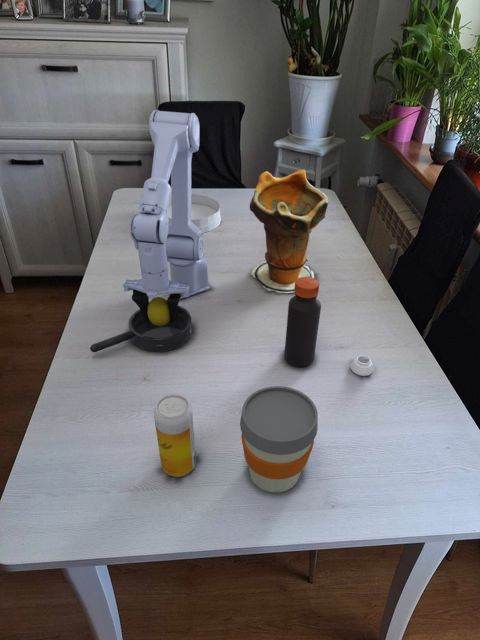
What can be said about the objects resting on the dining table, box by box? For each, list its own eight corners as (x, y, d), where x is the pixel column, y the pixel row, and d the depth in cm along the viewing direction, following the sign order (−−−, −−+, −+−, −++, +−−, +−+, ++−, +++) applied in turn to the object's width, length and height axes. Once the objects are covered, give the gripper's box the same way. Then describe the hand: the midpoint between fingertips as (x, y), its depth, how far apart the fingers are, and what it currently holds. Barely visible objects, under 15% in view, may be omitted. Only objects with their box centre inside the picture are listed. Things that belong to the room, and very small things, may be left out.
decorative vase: (268, 307, 126) (274, 203, 109) (235, 265, 142) (236, 169, 125) (337, 292, 133) (353, 192, 116) (298, 254, 149) (307, 161, 132)
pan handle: (132, 334, 112) (131, 328, 111) (135, 338, 111) (134, 332, 110) (89, 350, 107) (88, 344, 106) (92, 355, 106) (91, 348, 105)
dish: (217, 236, 157) (217, 221, 154) (149, 233, 156) (147, 218, 153) (223, 208, 174) (222, 195, 171) (161, 206, 174) (159, 192, 170)
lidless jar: (364, 360, 111) (346, 365, 109) (367, 350, 109) (348, 355, 108) (377, 373, 108) (357, 379, 106) (379, 363, 106) (360, 369, 104)
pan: (173, 309, 124) (172, 296, 121) (203, 337, 115) (203, 324, 113) (120, 328, 117) (118, 315, 114) (148, 360, 108) (146, 347, 106)
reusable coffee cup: (306, 443, 91) (314, 385, 82) (313, 501, 82) (324, 443, 72) (239, 443, 91) (240, 384, 81) (239, 502, 81) (240, 443, 72)
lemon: (168, 334, 112) (165, 305, 107) (145, 331, 113) (141, 302, 108) (176, 321, 116) (173, 292, 111) (154, 317, 117) (150, 289, 112)
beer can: (162, 452, 88) (154, 393, 79) (196, 451, 89) (192, 392, 80) (160, 480, 84) (151, 420, 74) (195, 478, 84) (191, 419, 75)
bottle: (297, 345, 114) (305, 270, 102) (319, 359, 111) (331, 283, 98) (277, 357, 111) (283, 281, 98) (299, 372, 107) (308, 295, 94)
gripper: (114, 273, 102) (124, 325, 111) (182, 280, 101) (186, 332, 110) (126, 257, 108) (134, 308, 116) (190, 263, 107) (193, 314, 115)
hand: (160, 318), depth 113 cm, fingers closed on lemon, 5 cm apart
